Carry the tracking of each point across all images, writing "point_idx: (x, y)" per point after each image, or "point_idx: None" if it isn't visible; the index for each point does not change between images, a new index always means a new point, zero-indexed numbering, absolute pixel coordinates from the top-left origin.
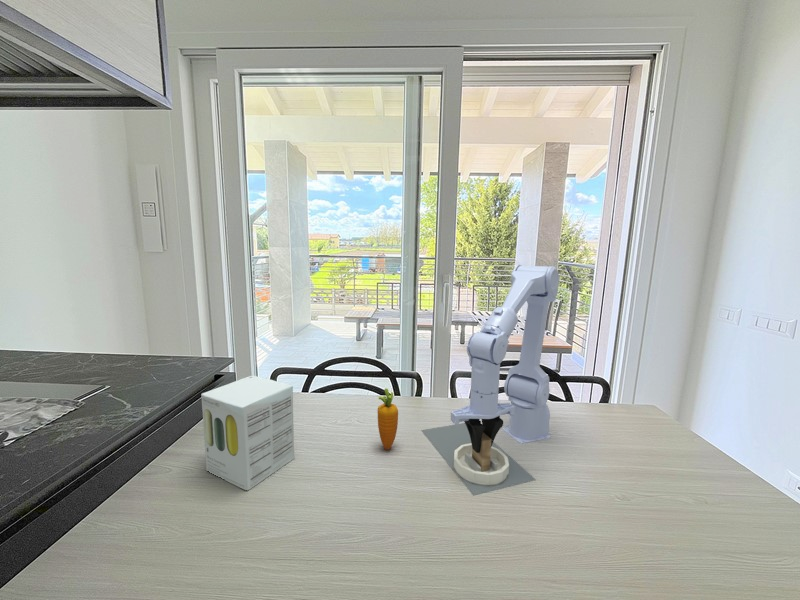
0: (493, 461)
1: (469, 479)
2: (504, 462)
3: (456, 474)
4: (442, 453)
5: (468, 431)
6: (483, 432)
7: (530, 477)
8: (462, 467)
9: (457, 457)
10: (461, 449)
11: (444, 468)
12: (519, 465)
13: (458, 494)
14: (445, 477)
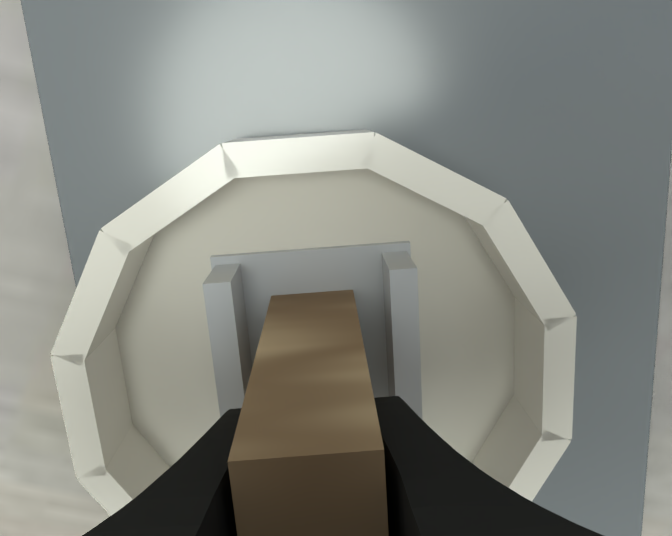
0: None
1: None
2: (510, 454)
3: None
4: (61, 63)
5: (113, 514)
6: (385, 519)
7: (620, 522)
8: (86, 486)
9: (149, 237)
10: (196, 203)
11: (36, 255)
12: (647, 390)
13: (55, 531)
14: (13, 360)
